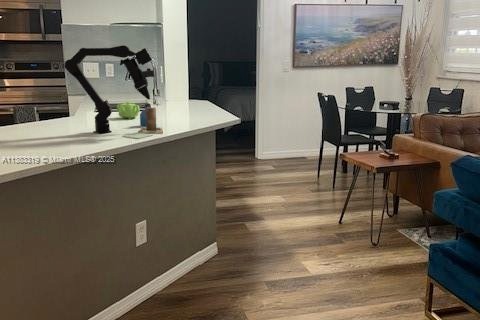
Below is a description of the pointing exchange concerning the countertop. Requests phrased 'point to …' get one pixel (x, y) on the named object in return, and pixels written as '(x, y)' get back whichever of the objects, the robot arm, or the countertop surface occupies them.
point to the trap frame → (151, 131)
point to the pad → (137, 135)
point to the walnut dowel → (150, 119)
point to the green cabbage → (128, 110)
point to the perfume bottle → (144, 115)
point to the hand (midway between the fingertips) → (149, 98)
